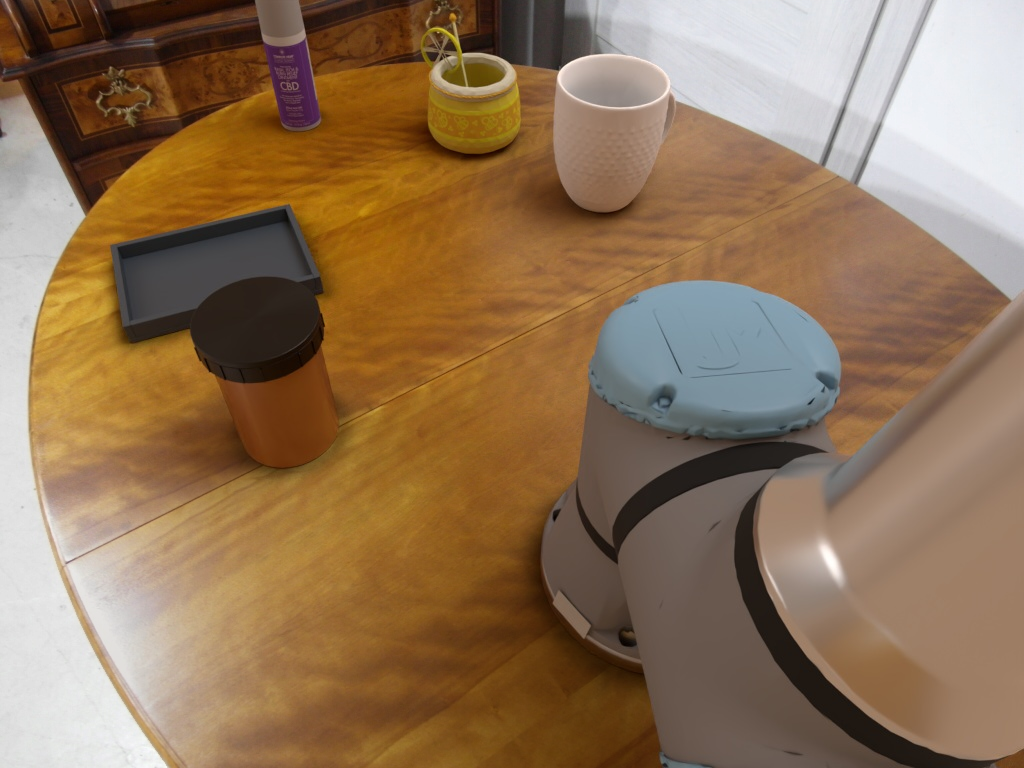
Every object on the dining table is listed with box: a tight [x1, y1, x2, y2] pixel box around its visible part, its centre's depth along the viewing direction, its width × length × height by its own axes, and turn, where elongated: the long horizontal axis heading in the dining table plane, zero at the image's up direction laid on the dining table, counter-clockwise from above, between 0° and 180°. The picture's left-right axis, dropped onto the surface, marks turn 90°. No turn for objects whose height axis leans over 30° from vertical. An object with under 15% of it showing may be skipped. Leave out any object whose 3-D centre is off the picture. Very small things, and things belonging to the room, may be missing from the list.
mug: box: [552, 53, 677, 213], centre depth 80 cm, size 15×11×13 cm
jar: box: [214, 345, 340, 469], centre depth 57 cm, size 8×8×12 cm
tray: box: [109, 203, 325, 344], centre depth 73 cm, size 17×12×2 cm
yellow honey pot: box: [420, 12, 522, 155], centre depth 87 cm, size 13×11×12 cm
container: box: [254, 0, 322, 132], centre depth 87 cm, size 5×5×15 cm
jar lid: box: [189, 276, 326, 384], centre depth 53 cm, size 9×9×2 cm
